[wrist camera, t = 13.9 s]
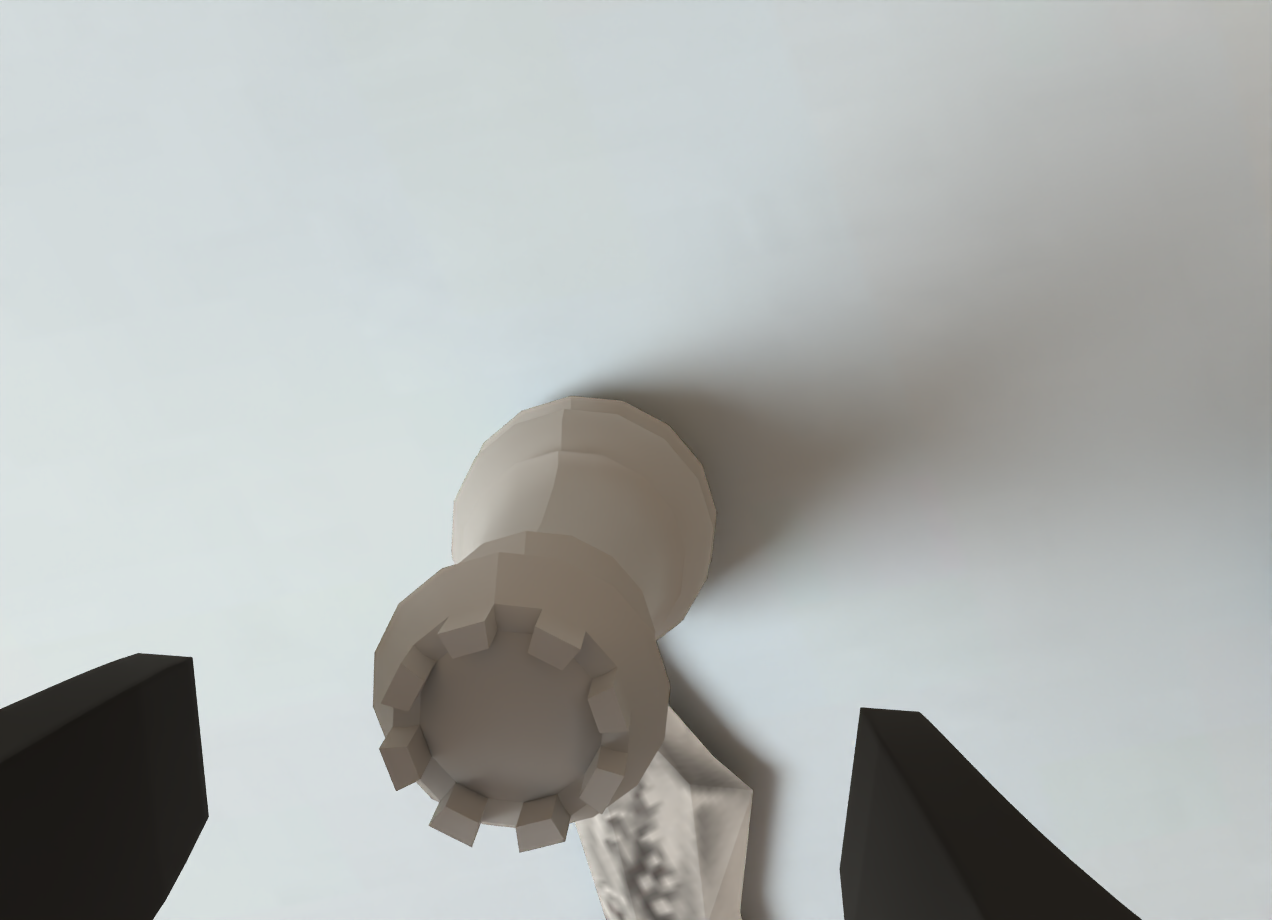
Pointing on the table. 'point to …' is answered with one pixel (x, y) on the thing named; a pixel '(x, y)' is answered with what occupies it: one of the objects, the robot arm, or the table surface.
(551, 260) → the table surface
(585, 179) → the table surface
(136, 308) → the table surface
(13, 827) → the robot arm
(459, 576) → the rook chess piece
